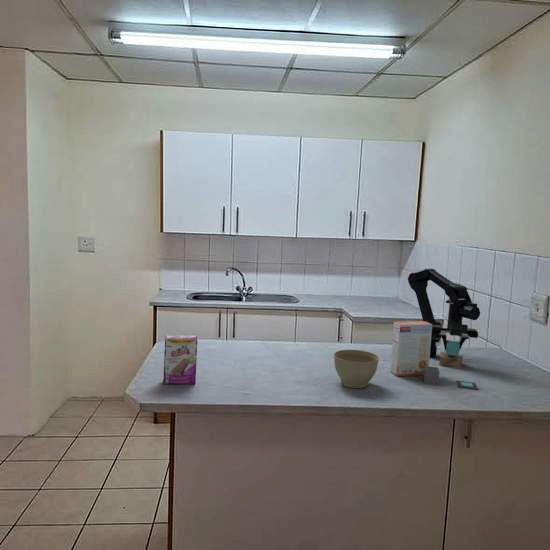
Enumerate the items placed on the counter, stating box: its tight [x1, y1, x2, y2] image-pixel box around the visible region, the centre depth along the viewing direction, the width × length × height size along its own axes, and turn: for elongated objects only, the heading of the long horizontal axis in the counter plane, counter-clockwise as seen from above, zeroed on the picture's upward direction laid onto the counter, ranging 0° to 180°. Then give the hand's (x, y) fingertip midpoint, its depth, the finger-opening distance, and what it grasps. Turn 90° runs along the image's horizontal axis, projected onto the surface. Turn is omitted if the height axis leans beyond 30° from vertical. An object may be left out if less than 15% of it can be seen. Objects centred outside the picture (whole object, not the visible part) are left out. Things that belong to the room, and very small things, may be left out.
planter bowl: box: [333, 349, 380, 389], centre depth 182 cm, size 16×16×11 cm
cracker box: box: [390, 320, 432, 377], centre depth 197 cm, size 14×6×21 cm, turn 103°
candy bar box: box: [163, 334, 198, 385], centre depth 174 cm, size 11×5×16 cm, turn 102°
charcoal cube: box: [423, 366, 440, 385], centre depth 191 cm, size 5×5×5 cm
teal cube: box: [444, 339, 460, 355], centre depth 214 cm, size 5×5×5 cm
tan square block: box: [438, 351, 463, 370], centre depth 215 cm, size 9×9×4 cm
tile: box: [455, 380, 479, 391], centre depth 188 cm, size 7×7×1 cm
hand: (451, 350), depth 214 cm, fingers closed on teal cube, 5 cm apart
